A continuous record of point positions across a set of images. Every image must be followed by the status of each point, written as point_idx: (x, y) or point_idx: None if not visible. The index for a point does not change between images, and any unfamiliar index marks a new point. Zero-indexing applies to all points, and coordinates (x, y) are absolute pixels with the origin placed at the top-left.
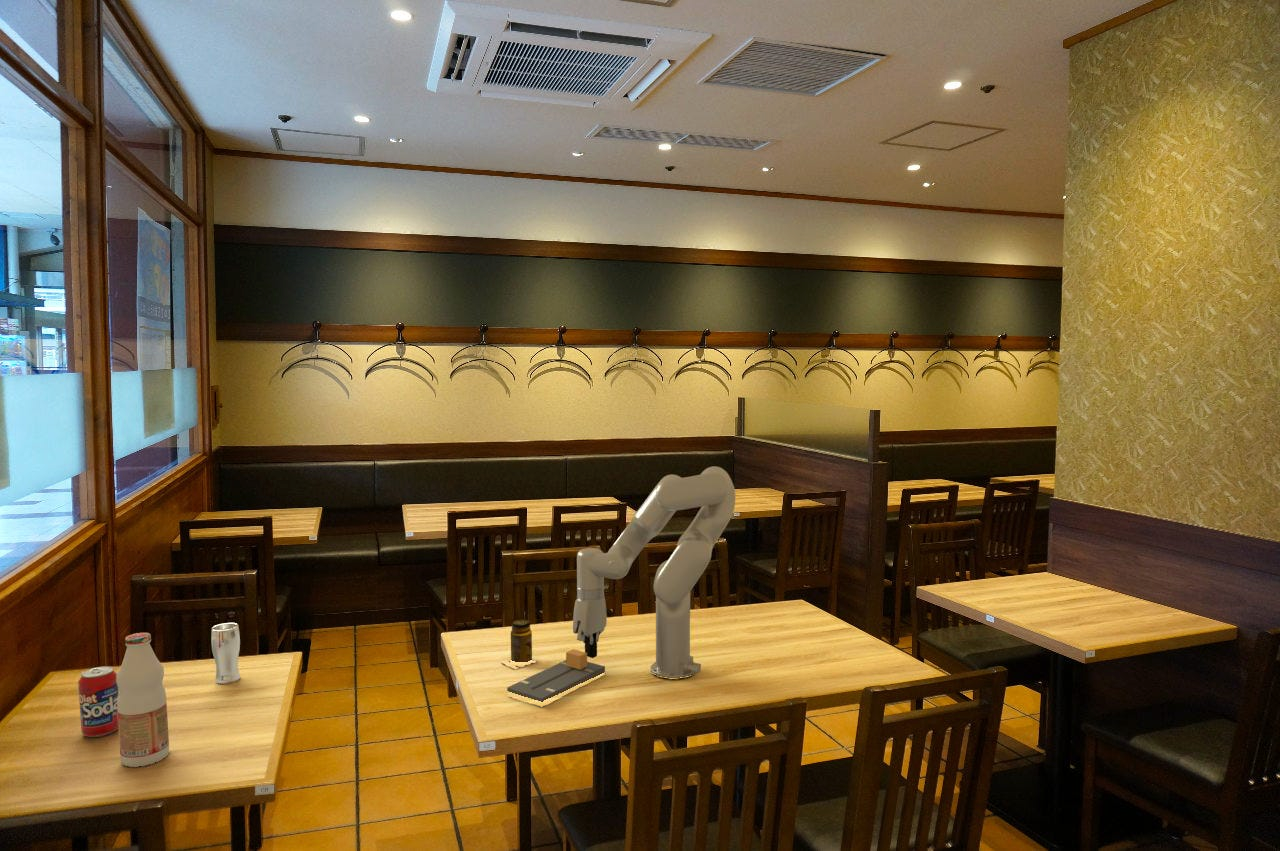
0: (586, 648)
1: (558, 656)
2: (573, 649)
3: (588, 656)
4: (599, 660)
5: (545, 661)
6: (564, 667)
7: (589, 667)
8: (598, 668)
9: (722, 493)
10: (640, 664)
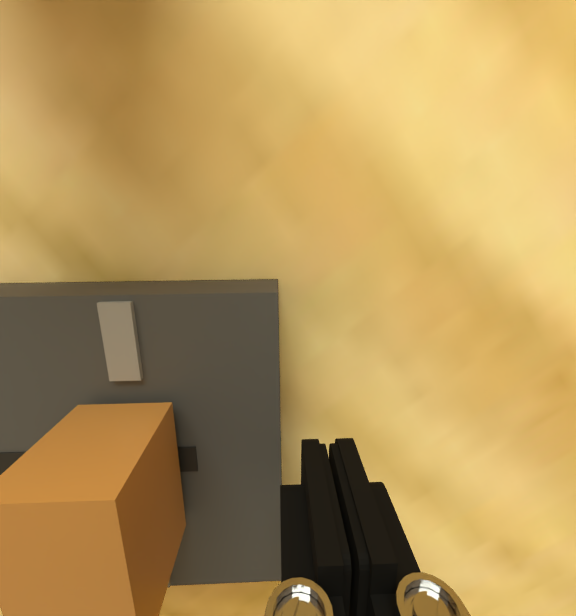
0: (281, 547)
1: (374, 40)
2: (108, 512)
3: (301, 473)
4: (460, 367)
5: (217, 20)
6: (68, 393)
7: (201, 525)
8: (228, 572)
9: None
10: (513, 567)
